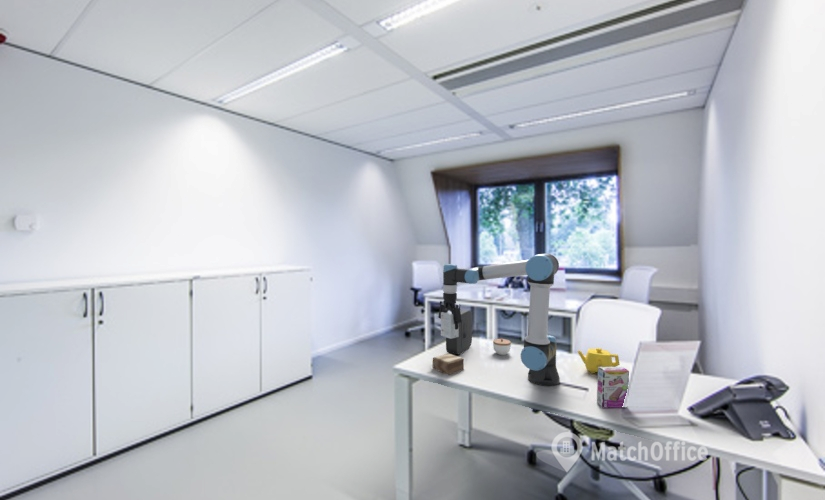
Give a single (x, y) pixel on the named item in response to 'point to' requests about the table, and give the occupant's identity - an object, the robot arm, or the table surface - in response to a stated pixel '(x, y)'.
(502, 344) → the lidded jar
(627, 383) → the candy bar box
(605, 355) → the teapot
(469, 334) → the speaker
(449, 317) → the small box
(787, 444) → the table surface
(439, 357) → the brown square box
